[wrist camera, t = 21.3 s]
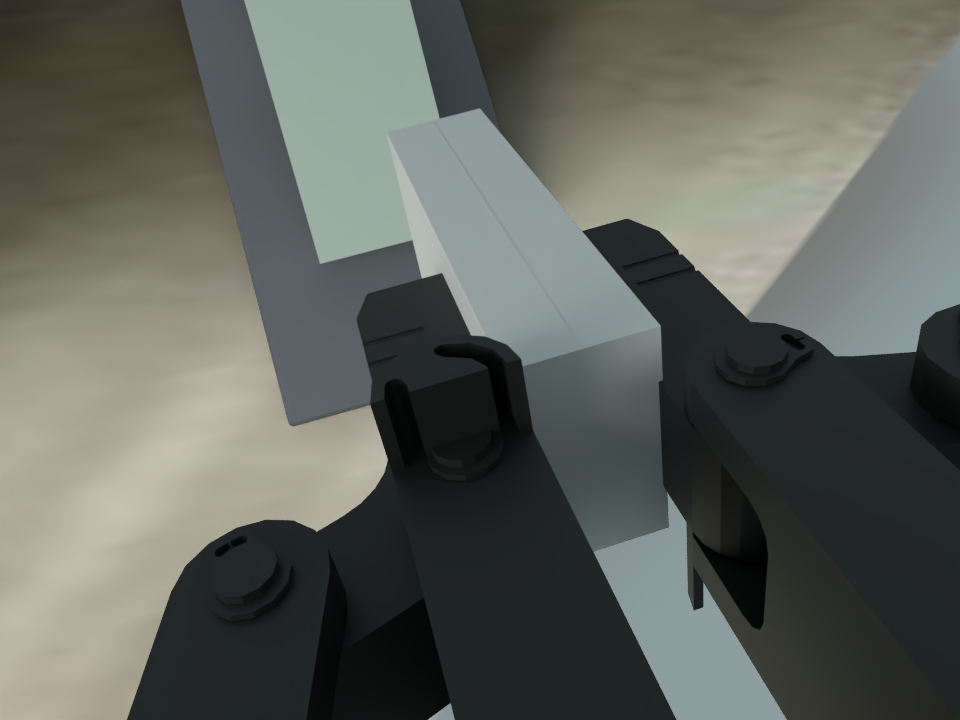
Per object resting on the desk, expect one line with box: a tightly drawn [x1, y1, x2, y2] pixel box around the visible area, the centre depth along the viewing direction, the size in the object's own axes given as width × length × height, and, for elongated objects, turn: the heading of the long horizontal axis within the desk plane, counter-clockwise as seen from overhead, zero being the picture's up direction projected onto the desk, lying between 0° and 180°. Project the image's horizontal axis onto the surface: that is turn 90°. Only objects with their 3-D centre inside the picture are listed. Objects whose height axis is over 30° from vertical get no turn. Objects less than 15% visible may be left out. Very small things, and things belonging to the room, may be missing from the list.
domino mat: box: [181, 0, 502, 426], centre depth 30 cm, size 10×25×1 cm, turn 16°
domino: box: [244, 0, 440, 264], centre depth 27 cm, size 5×2×10 cm
